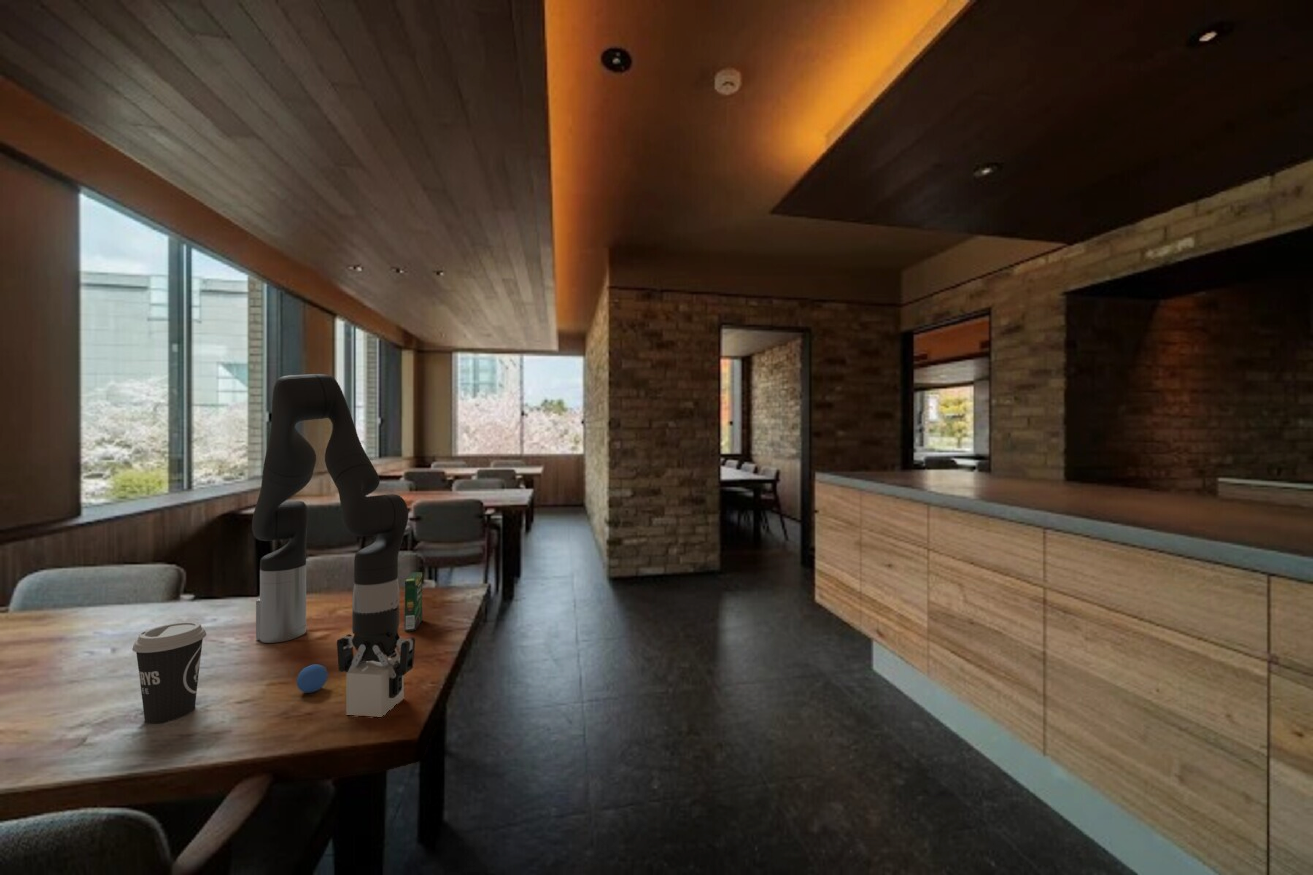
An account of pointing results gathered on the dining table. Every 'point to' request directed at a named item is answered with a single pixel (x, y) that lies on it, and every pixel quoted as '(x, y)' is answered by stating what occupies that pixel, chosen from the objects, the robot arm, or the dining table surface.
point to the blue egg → (312, 678)
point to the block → (370, 690)
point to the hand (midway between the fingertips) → (376, 694)
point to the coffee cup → (169, 669)
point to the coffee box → (413, 601)
